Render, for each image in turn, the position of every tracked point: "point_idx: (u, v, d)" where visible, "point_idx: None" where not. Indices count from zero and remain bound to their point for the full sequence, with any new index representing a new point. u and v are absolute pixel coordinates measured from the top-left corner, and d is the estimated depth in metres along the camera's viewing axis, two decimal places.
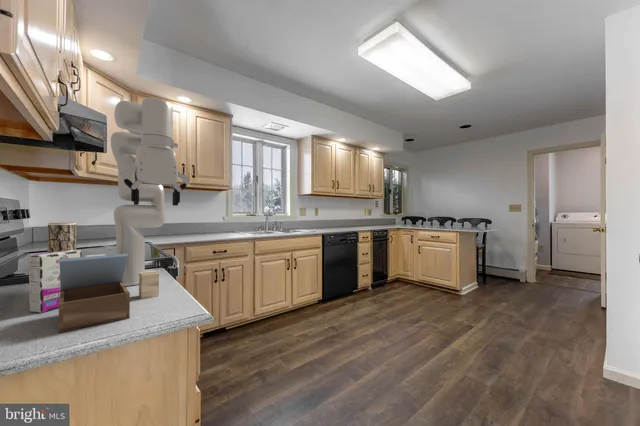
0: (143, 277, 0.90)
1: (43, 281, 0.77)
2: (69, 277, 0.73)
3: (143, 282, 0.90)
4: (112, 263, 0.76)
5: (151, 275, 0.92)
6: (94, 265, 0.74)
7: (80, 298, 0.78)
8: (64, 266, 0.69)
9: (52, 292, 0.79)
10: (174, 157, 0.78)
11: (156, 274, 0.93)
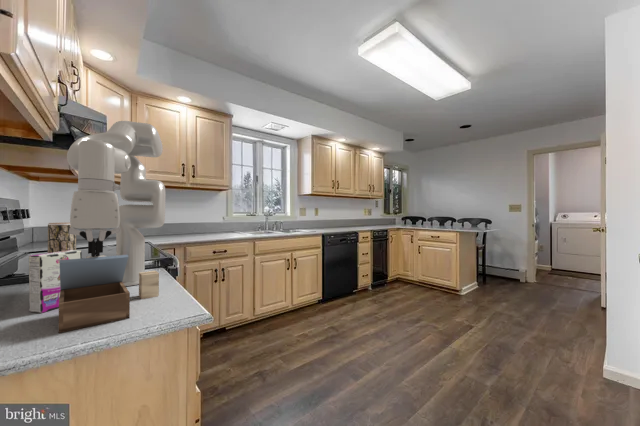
0: (143, 277, 0.90)
1: (43, 281, 0.77)
2: (69, 277, 0.73)
3: (143, 282, 0.90)
4: (112, 264, 0.76)
5: (151, 275, 0.92)
6: (94, 266, 0.74)
7: (80, 298, 0.78)
8: (64, 267, 0.69)
9: (52, 292, 0.79)
10: (115, 200, 0.74)
11: (156, 274, 0.93)
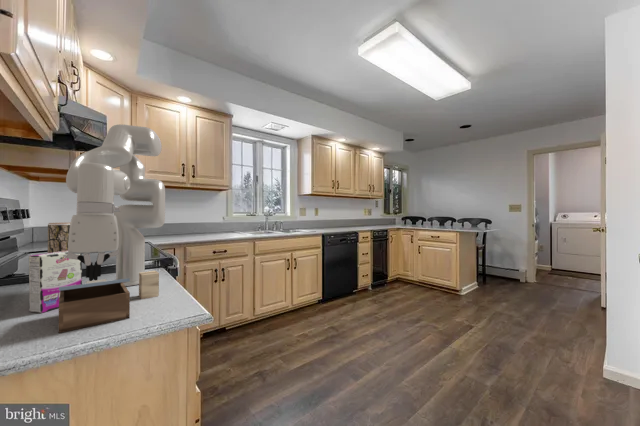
0: (143, 277, 0.90)
1: (43, 281, 0.77)
2: None
3: (143, 282, 0.90)
4: None
5: (151, 275, 0.92)
6: None
7: (80, 298, 0.78)
8: None
9: (52, 292, 0.79)
10: (114, 222, 0.73)
11: (156, 274, 0.93)
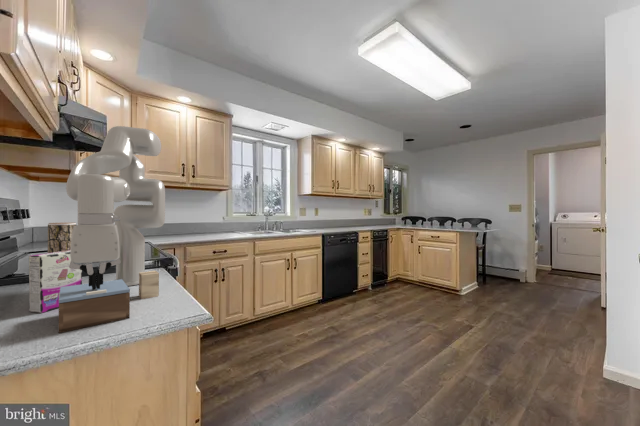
0: (143, 277, 0.90)
1: (43, 281, 0.77)
2: None
3: (143, 282, 0.90)
4: None
5: (151, 275, 0.92)
6: None
7: None
8: None
9: (52, 292, 0.79)
10: (115, 232, 0.74)
11: (156, 274, 0.93)
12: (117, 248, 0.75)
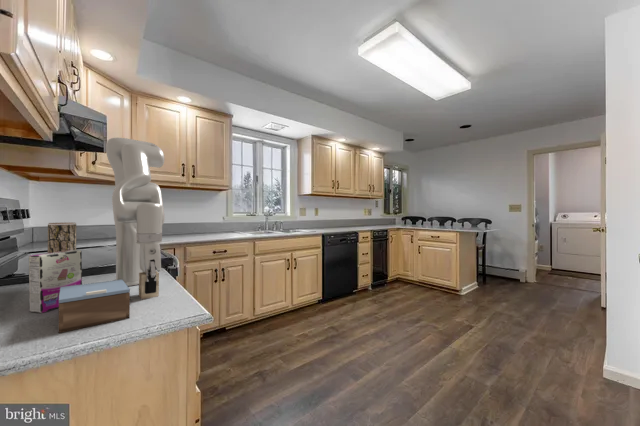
0: (143, 277, 0.90)
1: (43, 281, 0.77)
2: None
3: (143, 282, 0.90)
4: None
5: None
6: None
7: None
8: None
9: (52, 292, 0.79)
10: (144, 250, 0.89)
11: (156, 274, 0.93)
12: (144, 263, 0.89)
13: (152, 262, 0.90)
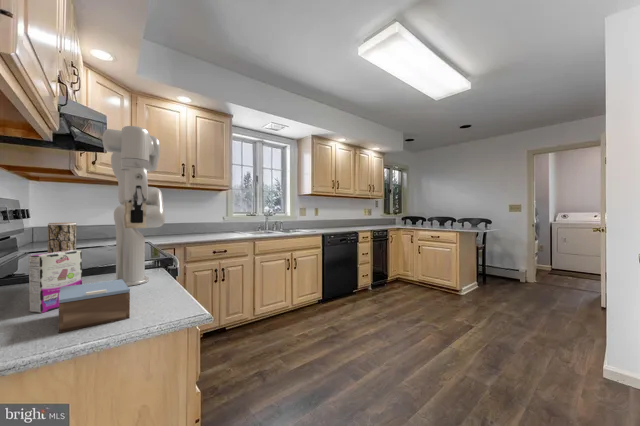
0: (129, 205, 0.84)
1: (43, 281, 0.77)
2: None
3: (129, 211, 0.84)
4: None
5: None
6: None
7: None
8: None
9: (52, 292, 0.79)
10: (130, 174, 0.83)
11: (143, 204, 0.87)
12: (130, 188, 0.83)
13: (138, 188, 0.84)
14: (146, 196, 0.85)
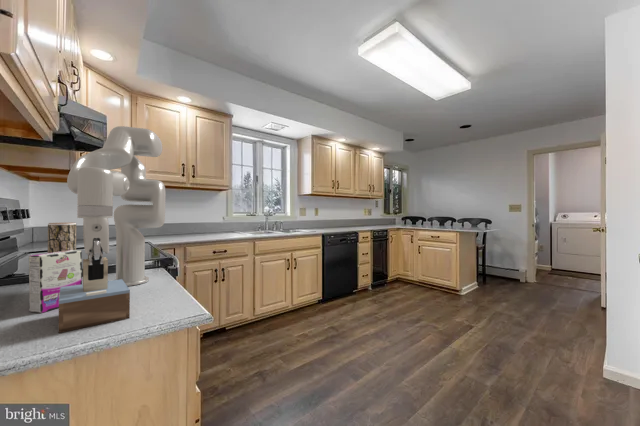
0: (86, 264, 0.72)
1: (43, 281, 0.77)
2: None
3: (86, 271, 0.72)
4: None
5: None
6: None
7: None
8: None
9: (52, 292, 0.79)
10: (86, 225, 0.71)
11: (104, 261, 0.74)
12: (86, 242, 0.70)
13: (96, 241, 0.71)
14: (106, 249, 0.73)
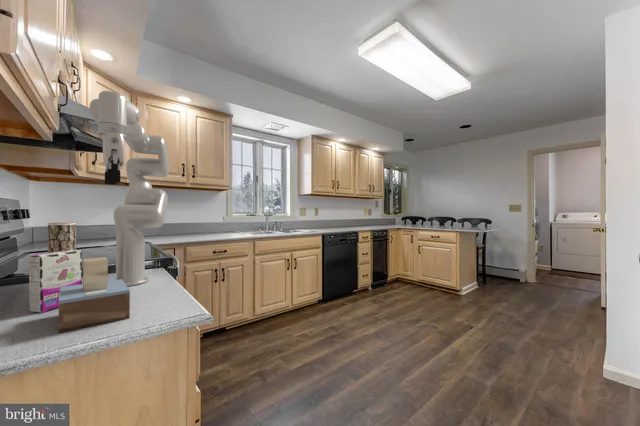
0: (86, 264, 0.72)
1: (43, 281, 0.77)
2: None
3: (86, 271, 0.72)
4: None
5: (97, 262, 0.73)
6: None
7: None
8: None
9: (52, 292, 0.79)
10: (106, 138, 0.85)
11: (104, 261, 0.74)
12: (106, 151, 0.85)
13: None
14: (122, 160, 0.87)
